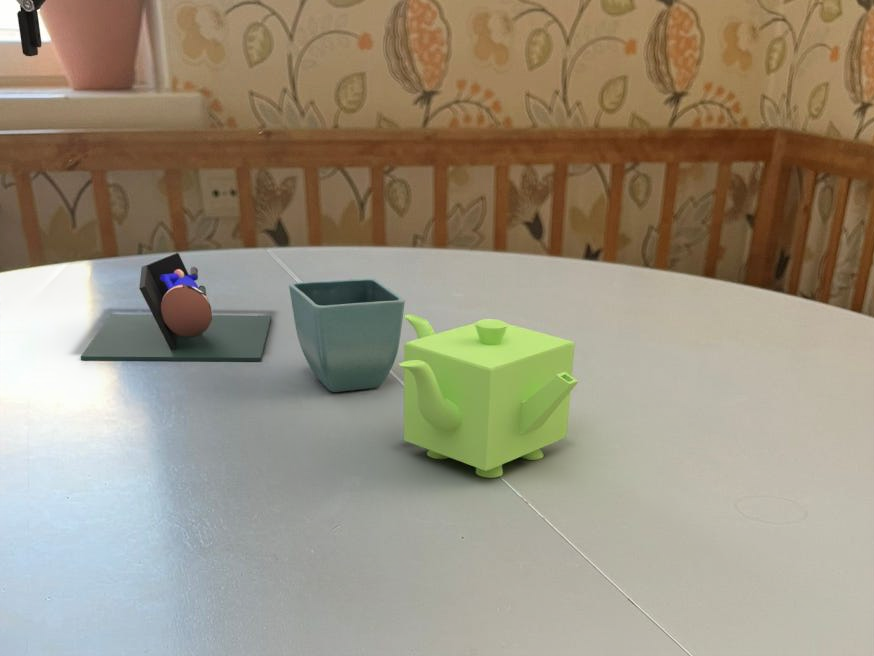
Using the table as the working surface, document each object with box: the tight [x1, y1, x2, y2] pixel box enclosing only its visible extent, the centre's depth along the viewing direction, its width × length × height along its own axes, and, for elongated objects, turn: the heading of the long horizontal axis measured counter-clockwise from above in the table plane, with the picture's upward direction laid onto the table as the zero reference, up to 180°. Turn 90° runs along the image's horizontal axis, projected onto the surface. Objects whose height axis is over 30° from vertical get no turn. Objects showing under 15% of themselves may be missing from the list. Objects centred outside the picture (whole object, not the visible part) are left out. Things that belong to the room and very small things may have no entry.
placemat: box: [80, 313, 272, 362], centre depth 114 cm, size 18×16×1 cm
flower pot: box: [288, 278, 406, 393], centre depth 101 cm, size 9×9×9 cm
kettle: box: [398, 314, 579, 479], centre depth 86 cm, size 15×14×11 cm
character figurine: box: [138, 252, 213, 350], centre depth 111 cm, size 8×7×15 cm
